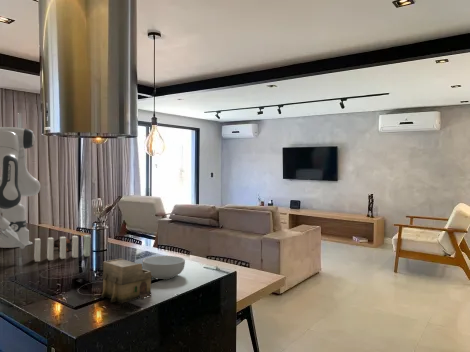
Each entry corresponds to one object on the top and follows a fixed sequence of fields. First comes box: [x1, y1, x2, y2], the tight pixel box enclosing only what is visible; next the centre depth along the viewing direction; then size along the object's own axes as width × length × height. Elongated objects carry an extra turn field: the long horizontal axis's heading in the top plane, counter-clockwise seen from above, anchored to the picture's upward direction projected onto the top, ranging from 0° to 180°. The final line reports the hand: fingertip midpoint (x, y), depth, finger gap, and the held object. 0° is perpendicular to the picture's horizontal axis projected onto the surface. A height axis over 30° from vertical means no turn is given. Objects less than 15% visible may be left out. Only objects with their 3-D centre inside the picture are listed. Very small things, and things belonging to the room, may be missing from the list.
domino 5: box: [82, 234, 91, 258], centre depth 181 cm, size 2×5×10 cm, turn 34°
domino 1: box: [33, 237, 42, 262], centre depth 168 cm, size 2×5×10 cm, turn 34°
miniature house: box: [100, 257, 153, 304], centre depth 121 cm, size 15×14×11 cm
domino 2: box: [46, 237, 55, 261], centre depth 172 cm, size 2×5×10 cm, turn 34°
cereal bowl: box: [142, 255, 186, 280], centre depth 143 cm, size 17×17×7 cm
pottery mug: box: [53, 237, 72, 252], centre depth 193 cm, size 12×10×8 cm
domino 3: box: [59, 236, 67, 260], centre depth 175 cm, size 2×5×10 cm, turn 34°
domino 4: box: [71, 235, 79, 259], centre depth 178 cm, size 2×5×10 cm, turn 34°
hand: (24, 247), depth 165 cm, fingers closed
